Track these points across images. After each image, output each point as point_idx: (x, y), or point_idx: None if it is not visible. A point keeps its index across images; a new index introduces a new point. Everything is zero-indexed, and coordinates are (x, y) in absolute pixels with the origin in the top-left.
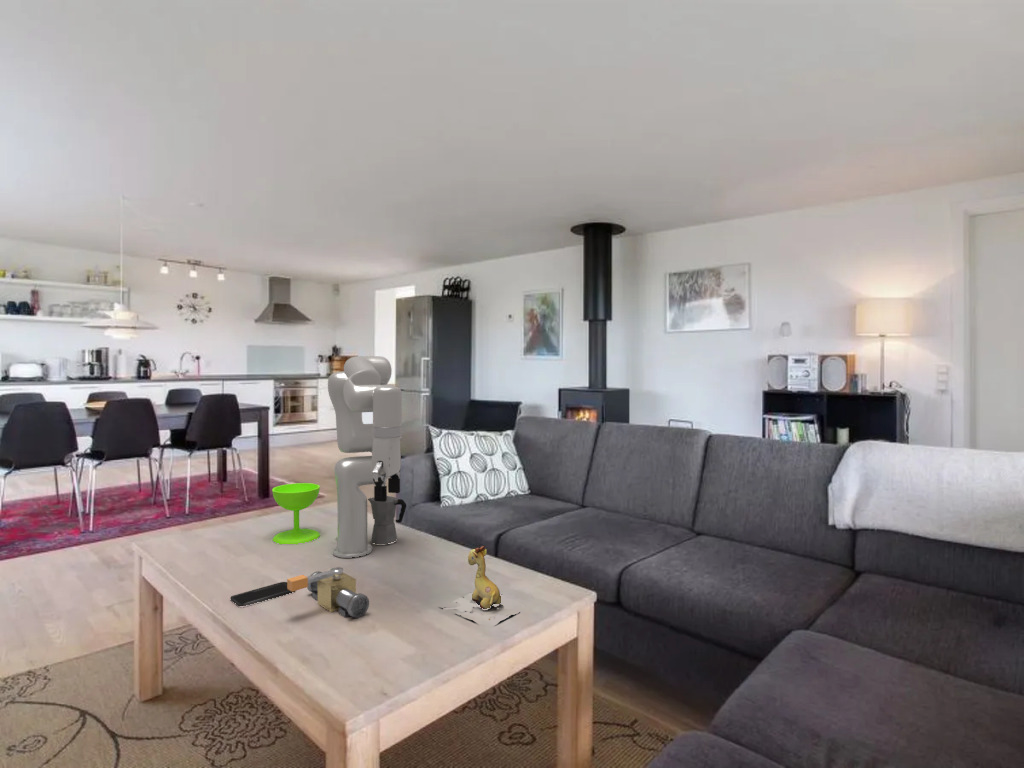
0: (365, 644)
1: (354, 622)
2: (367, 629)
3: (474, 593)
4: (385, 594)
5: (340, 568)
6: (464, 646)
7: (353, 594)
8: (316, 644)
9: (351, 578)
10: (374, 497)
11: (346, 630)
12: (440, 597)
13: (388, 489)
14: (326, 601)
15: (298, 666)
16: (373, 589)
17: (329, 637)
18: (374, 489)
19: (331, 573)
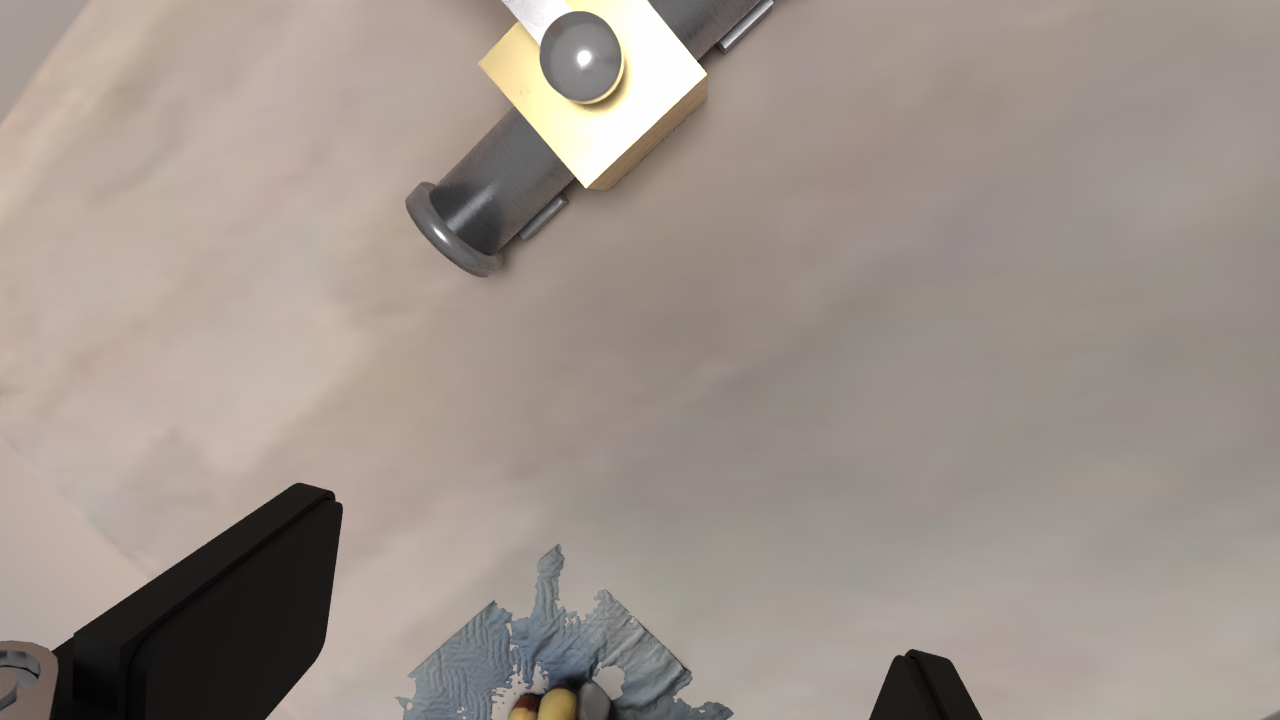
0: (253, 298)
1: None
2: (365, 286)
3: (543, 713)
4: (709, 316)
5: (596, 78)
6: None
7: (468, 201)
8: (239, 104)
9: (594, 160)
10: (266, 505)
11: (355, 202)
12: (654, 555)
13: (915, 686)
14: None
15: (87, 82)
16: (779, 248)
17: (295, 144)
18: (146, 587)
19: (532, 34)
